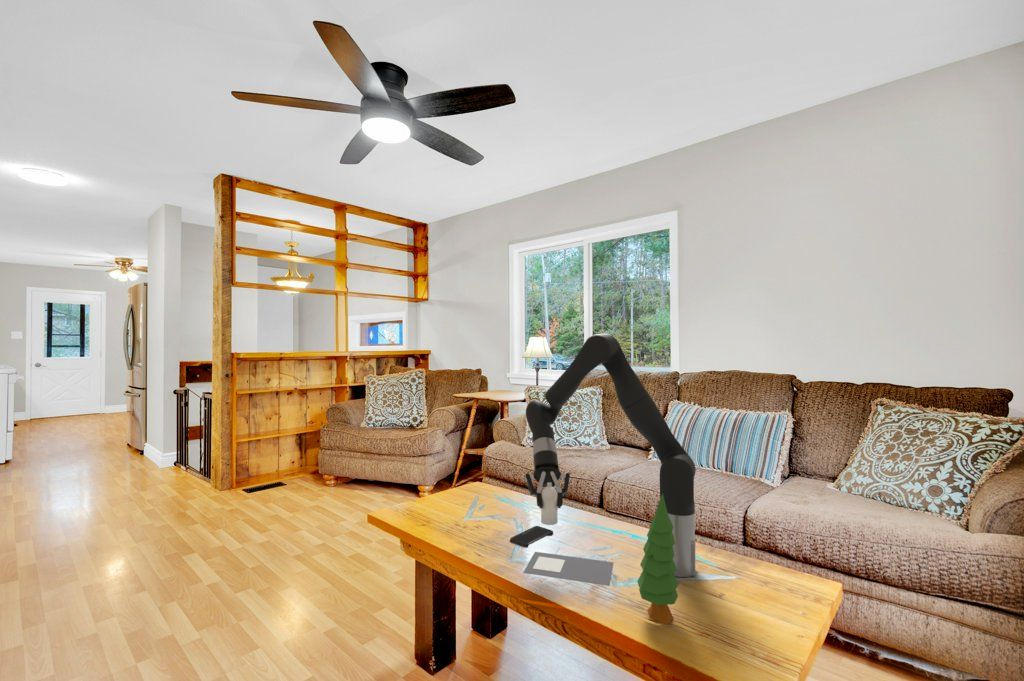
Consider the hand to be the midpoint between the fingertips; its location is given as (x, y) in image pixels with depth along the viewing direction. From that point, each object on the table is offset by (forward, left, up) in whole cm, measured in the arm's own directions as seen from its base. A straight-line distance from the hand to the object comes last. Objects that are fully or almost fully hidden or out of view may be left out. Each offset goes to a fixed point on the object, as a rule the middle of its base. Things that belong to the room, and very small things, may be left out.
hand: (550, 506), depth 137 cm
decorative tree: (-29, +15, -18) cm, 38 cm away
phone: (+11, -21, -19) cm, 30 cm away
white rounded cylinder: (+1, -2, -5) cm, 5 cm away
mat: (-5, -2, -18) cm, 19 cm away
